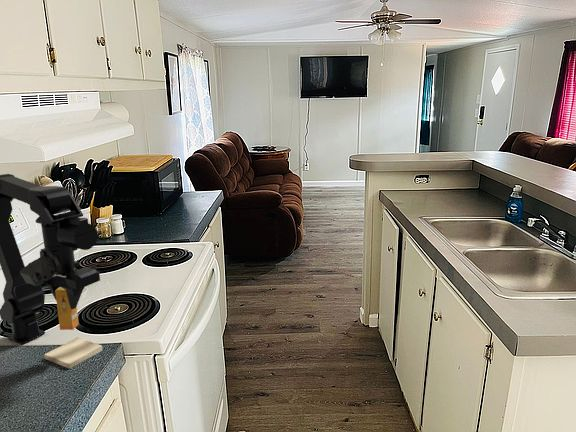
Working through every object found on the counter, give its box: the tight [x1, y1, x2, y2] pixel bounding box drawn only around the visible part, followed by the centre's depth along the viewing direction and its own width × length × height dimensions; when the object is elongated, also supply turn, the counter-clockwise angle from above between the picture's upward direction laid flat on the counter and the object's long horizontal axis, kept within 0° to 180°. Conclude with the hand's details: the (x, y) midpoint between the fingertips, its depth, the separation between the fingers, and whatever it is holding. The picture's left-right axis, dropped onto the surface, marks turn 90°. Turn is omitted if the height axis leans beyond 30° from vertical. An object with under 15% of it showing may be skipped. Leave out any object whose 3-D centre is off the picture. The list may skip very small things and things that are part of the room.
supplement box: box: [55, 287, 80, 331], centre depth 104 cm, size 3×3×10 cm
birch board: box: [44, 336, 104, 369], centre depth 107 cm, size 9×9×1 cm
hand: (67, 306), depth 104 cm, fingers closed on supplement box, 4 cm apart
